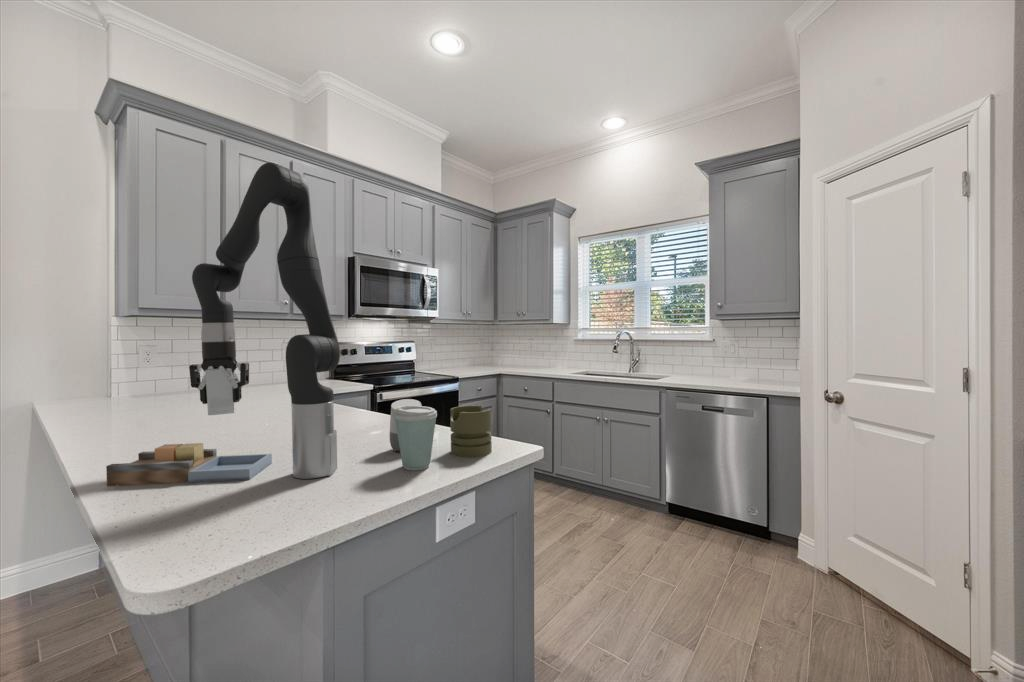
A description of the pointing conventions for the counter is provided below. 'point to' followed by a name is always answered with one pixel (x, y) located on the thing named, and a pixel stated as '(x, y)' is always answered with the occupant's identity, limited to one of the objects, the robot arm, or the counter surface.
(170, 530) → the counter surface
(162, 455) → the orange cube
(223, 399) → the skincare box
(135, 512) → the counter surface
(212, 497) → the counter surface
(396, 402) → the smart speaker
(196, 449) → the olive yellow cube
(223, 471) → the tray
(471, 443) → the piston
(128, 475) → the slotted board
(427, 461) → the disposable coffee cup
